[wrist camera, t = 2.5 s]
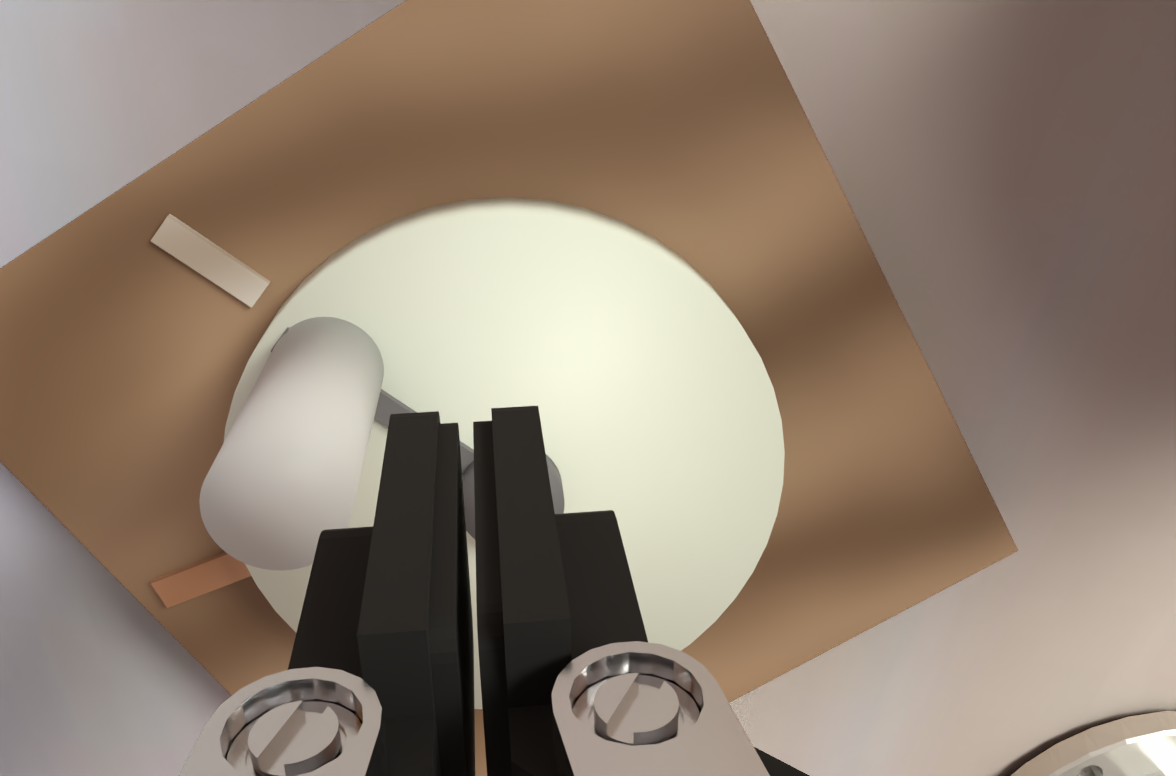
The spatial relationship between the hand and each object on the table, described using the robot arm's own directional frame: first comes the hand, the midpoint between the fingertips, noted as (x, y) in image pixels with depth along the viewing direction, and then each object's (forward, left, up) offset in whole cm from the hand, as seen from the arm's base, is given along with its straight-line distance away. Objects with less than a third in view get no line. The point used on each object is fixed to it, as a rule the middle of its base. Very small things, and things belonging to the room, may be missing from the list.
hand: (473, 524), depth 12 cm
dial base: (-5, +2, -14) cm, 15 cm away
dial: (-5, +2, -12) cm, 13 cm away
